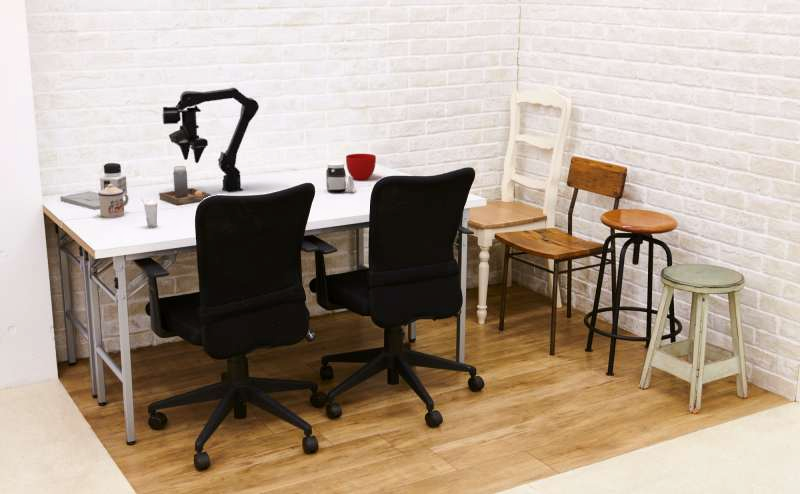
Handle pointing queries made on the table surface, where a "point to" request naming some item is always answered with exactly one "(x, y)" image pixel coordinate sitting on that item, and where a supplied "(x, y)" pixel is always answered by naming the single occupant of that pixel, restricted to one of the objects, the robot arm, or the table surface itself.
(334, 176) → the spread jar
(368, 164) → the ceramic cup
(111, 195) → the teacup with lid
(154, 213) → the milkshake
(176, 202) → the tray
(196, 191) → the ball
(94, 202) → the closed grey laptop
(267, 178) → the table surface
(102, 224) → the table surface
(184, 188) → the cylinder
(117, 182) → the container
